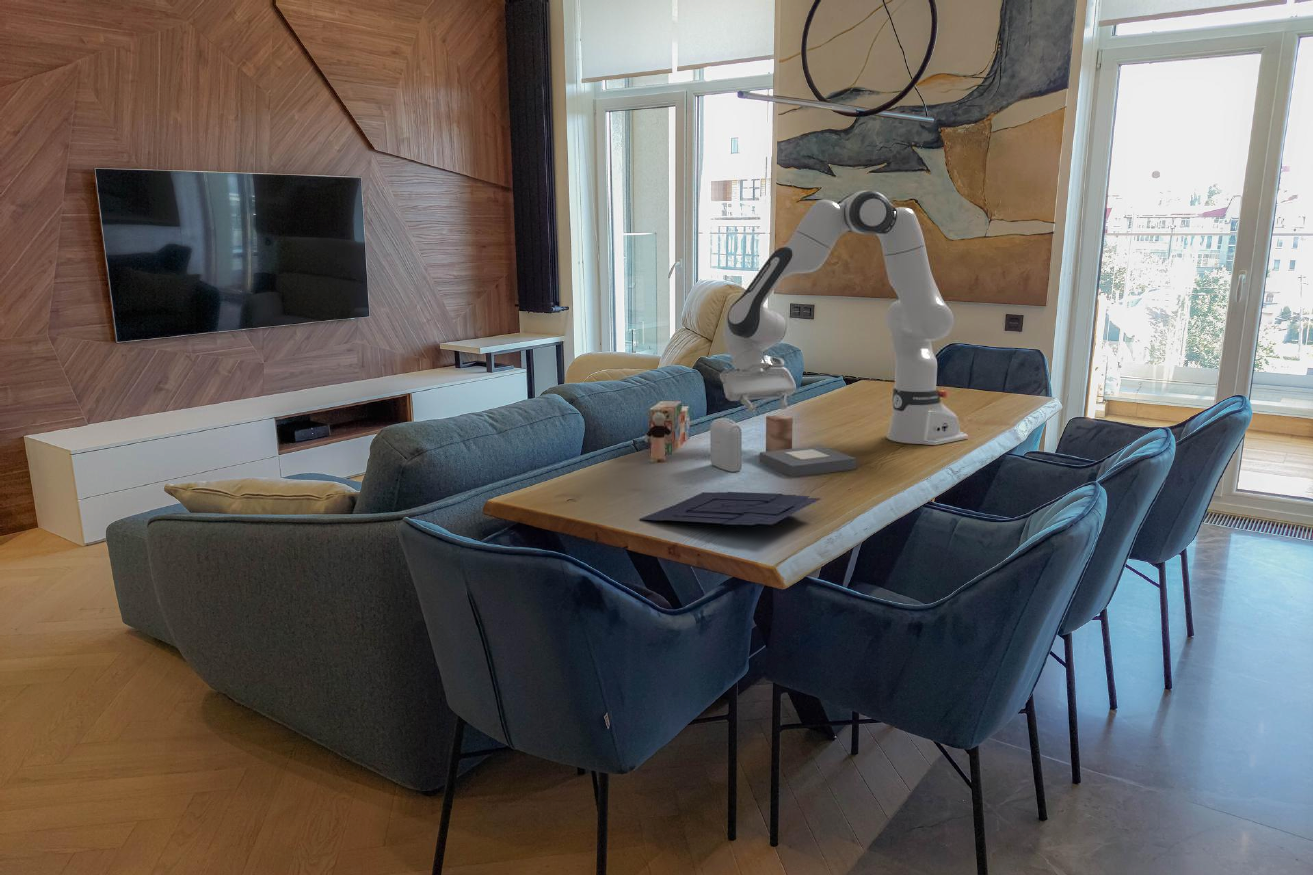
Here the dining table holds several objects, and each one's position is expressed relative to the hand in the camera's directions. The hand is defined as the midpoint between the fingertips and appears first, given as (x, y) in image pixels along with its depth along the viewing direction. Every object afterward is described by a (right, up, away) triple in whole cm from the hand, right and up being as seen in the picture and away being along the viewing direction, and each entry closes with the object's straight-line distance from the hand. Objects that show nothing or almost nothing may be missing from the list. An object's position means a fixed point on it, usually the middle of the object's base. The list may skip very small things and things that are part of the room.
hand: (768, 409), depth 236 cm
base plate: (+8, -15, -15) cm, 23 cm away
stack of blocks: (-26, -10, +10) cm, 30 cm away
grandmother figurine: (-29, -14, -8) cm, 33 cm away
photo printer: (-13, -15, -16) cm, 25 cm away
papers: (-15, -24, -56) cm, 63 cm away
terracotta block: (+2, -12, -3) cm, 12 cm away
